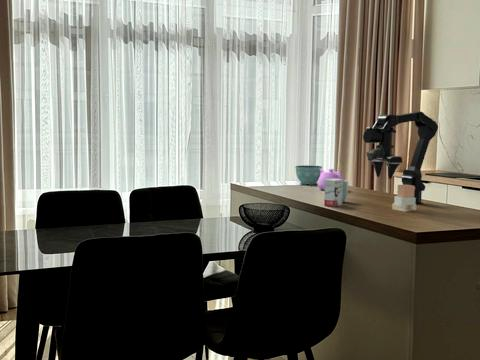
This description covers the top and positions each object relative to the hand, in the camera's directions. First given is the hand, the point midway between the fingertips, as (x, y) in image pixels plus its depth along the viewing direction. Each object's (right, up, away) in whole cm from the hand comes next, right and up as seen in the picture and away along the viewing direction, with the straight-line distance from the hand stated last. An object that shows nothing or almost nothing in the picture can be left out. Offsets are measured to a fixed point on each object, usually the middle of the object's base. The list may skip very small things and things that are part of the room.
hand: (383, 177), depth 251 cm
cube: (+6, -8, -12) cm, 16 cm away
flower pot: (-23, -4, +87) cm, 90 cm away
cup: (-18, -12, +11) cm, 24 cm away
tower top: (+6, -11, -11) cm, 17 cm away
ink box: (-23, -13, 0) cm, 26 cm away
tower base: (+6, -14, -11) cm, 19 cm away
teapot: (-15, -7, +58) cm, 61 cm away
